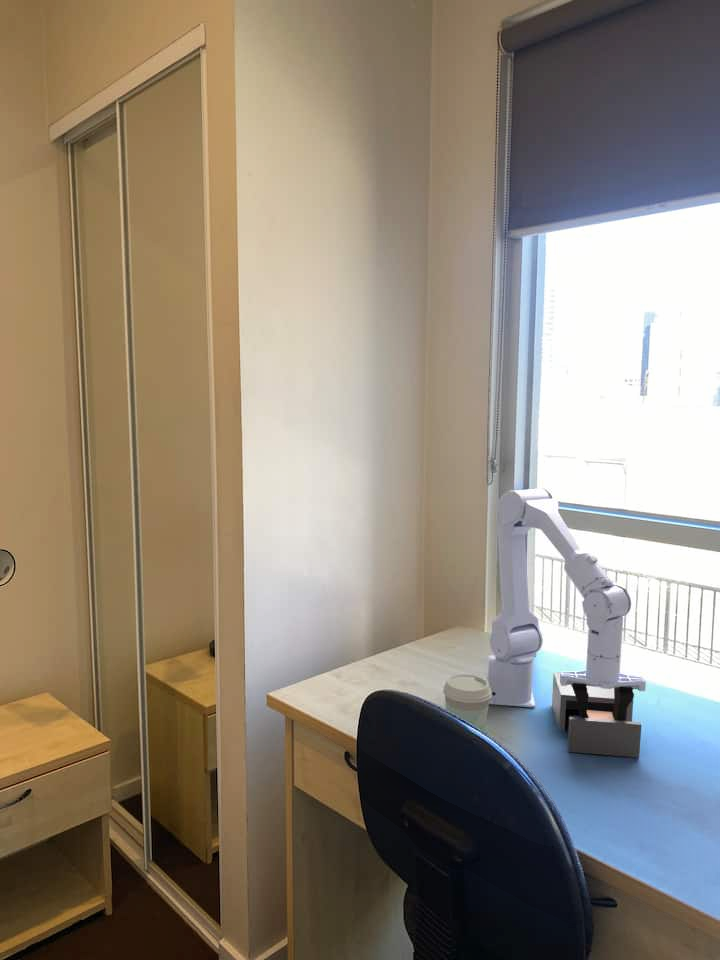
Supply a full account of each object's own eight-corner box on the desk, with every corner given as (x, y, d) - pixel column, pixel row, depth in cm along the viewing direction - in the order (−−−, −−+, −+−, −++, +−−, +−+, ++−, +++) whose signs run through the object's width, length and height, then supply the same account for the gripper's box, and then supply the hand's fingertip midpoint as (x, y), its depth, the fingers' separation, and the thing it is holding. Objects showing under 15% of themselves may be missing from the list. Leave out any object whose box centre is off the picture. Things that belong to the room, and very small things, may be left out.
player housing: (559, 730, 135) (560, 694, 134) (551, 705, 146) (553, 672, 145) (630, 736, 133) (633, 699, 132) (618, 710, 144) (620, 676, 143)
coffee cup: (478, 763, 123) (480, 696, 121) (433, 749, 127) (435, 684, 126) (496, 743, 130) (499, 679, 129) (453, 730, 135) (455, 669, 133)
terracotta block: (584, 730, 133) (586, 709, 133) (609, 732, 132) (611, 712, 132) (588, 741, 129) (589, 720, 128) (614, 744, 128) (616, 723, 127)
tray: (568, 751, 127) (570, 719, 126) (560, 723, 138) (561, 693, 137) (639, 757, 125) (641, 724, 124) (625, 728, 136) (627, 698, 135)
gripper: (565, 658, 126) (561, 731, 127) (652, 663, 124) (646, 738, 125) (559, 644, 132) (556, 714, 134) (641, 649, 130) (637, 720, 132)
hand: (599, 724), depth 130 cm, fingers open, 5 cm apart
